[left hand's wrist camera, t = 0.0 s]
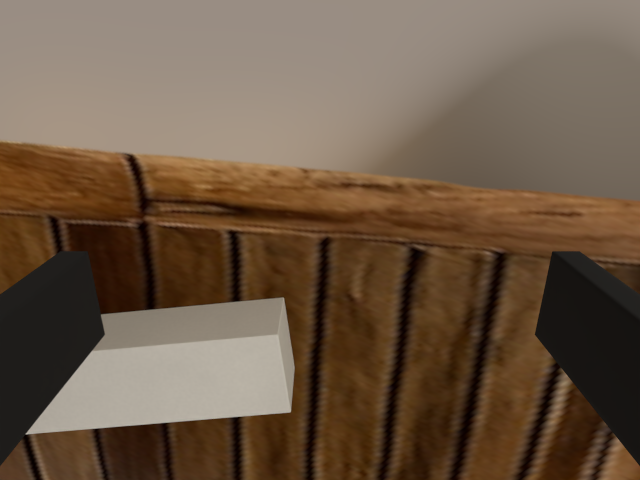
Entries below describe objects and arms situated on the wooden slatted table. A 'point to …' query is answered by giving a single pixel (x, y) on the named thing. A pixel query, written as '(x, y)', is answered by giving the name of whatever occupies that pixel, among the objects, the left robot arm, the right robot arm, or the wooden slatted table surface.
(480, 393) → the wooden slatted table surface
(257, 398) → the thick board
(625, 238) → the wooden slatted table surface
